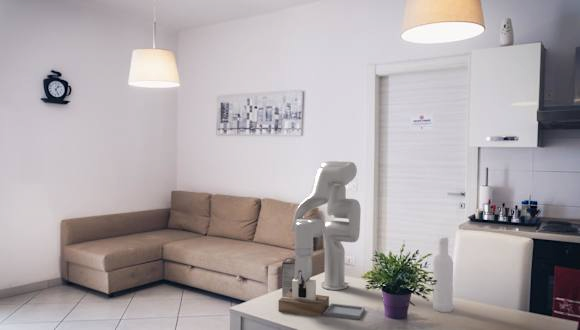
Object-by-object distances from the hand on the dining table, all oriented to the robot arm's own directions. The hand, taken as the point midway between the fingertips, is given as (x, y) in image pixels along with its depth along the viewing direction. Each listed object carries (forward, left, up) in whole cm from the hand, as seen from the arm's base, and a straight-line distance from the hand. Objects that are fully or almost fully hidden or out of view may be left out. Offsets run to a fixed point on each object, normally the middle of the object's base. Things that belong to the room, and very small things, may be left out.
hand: (304, 295), depth 198 cm
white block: (0, 0, -6) cm, 6 cm away
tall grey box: (-15, -11, -6) cm, 20 cm away
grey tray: (-1, +17, -6) cm, 18 cm away
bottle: (-19, +54, -6) cm, 58 cm away
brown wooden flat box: (0, 0, -6) cm, 6 cm away
